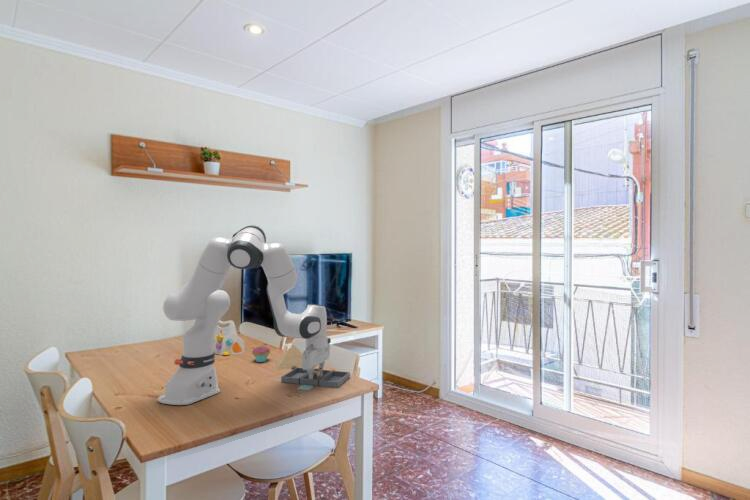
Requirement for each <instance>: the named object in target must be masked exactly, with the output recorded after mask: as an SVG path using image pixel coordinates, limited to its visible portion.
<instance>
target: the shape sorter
mask: <svg viewBox="0 0 750 500" xmlns="http://www.w3.org/2000/svg"><path fill="white" fill-rule="evenodd" d="M219 324H221V325H227V326H225V327H221V326H220V325H219ZM236 328H237V327H236V325H235V322H234V320H231V319H230V320H226V321H222V320H221V319H220V320H219V322H218V324H217V326H216V329H215V333H214V353H215V355H219V356H220V355H221V356H233V355H241V354H244V353H245V352H246V346H245V342H244V340H243V339H242V338H240V336H239V335H238V333H237V329H236Z"/></svg>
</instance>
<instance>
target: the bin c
mask: <svg viewBox="0 0 750 500" xmlns="http://www.w3.org/2000/svg"><path fill="white" fill-rule="evenodd" d="M350 378H351V372H350V371H341V370H331V372H330V373H329V374H327V375H326V376H325V377H323V378H322V379H321V380H319V386H318V387H322V388H334V389H338V388H339V387H341V386H342V385H343V384H344V383H346V382H347V381H348V380H349V379H350Z"/></svg>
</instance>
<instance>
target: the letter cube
mask: <svg viewBox="0 0 750 500" xmlns="http://www.w3.org/2000/svg"><path fill="white" fill-rule="evenodd" d="M323 370H324V368H323V369H318V368H316V367H315V368H313V374H314V378H313V380H318V379H319V378H321V377H322V376H323Z"/></svg>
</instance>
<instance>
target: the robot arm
mask: <svg viewBox="0 0 750 500" xmlns="http://www.w3.org/2000/svg"><path fill="white" fill-rule="evenodd" d="M266 240H267V237H266V234H265V232H264V230H263V228H261V227H260V226H257V225H254V224H253V225H247V226H245V227H243V228H241V229H240V230H237V232H235V233H233V234H232V236H231V238H227V237H223V236H216V237H213V238H212V239H210V240H209V241H208V243H207V244H206V246H205V247H204V249H203V251H202V253H201V255H200V258H199V259H198V263H197V266H196V267H195V269H194V272H193V274H192V276H191V277H190V279H189V280H187V282H186V283H185V284H184V285H183V286H182V287H180V288H179V289H178V290H177V291H175V292H173V293H171V294H169V295H168V296H166V298H165V300H164V302H163V307H162V309H163V313H164V315H165V317H166V318H167V319H168V320H170V321H178V322H185V321H186V322H187V321H193V320H195V321H194V323H193V325H192V326H191V327H190V328H189V329H188V330H186V331H185V332H184V334H183V337H182V355H181V358H180V359H179V358H176V359H174V362H173V363H174V365H176V366H177V365H178V366H179V367H178V368H177V370H175V372H174V373H173V374H172V376H171V377H170V378H169V379H168V381H166V383H165V388H164V394H162V395H160V396H159V397H157V402H158V403H161V404H165V405H166V404H167V405H172V406H173V405H174V406H187V405H191V404H194V403H196V402H198V401H201V400H204V399H206V398H208V397H209V398H210V397H211V396H214V395H216V394H219V393H220V392H221V390H220V388H219V385H218V383H219V382H218V377H217V376H218V375H217V369H216V367H215V361H216V356H215V355H216V354H215V353H214V333H215V329H216V326H217V324H218V325H219V323H218V322H219V320H220V321H221V318H222V317H223V316H224V315H225V313H228V311H229V308H230V306H231V299H230V298H231V297H230V295H229V294H228V293H227V291H225V290H222V289H221V288H222V287H223V286H224V283H225V281H226V278H227V276H228V274H229V271H230V269H231V266H232V267H233V268H235V269H237V270H248V269H249V270H250V269H257V268H259V267H262V269H263V272H264V274H265V277H266V280H267V285H266V294H267V299H268V303H269V307H270V310H271V314H272V319H273V328H274V331H275V333H276V335H277V336H278V337H282V338H295V339H301V340H305V350H304V351H302V353H303V357H302V369H303V370H307V372H308V375H309V379H313V378H314V374H313V369H314V368H316V367H318V368H317V369H323V370H324V367H325V363H326V361H327V360H329V358H330V353H331V352H330V351H331V345H330V344H331V340H332V338H331V337H328V335H327V325H328V320H327V319H328V316H327V308H326V307H325V306H324V305H323V304H316V303H315V304H314V303H308V304H307V306H306V308H305V310H304V311H303V312H301V313H293V312H291V311H289V310H288V308H287V306H286V302H285V298H284V295H285V294H287V293H289V291H291V290H292V289H294V287H295V286H296V284H298V283H297V282H298V280H299V279H298V272H297V270H296V267H295V265H294V262H293V259H292V258H291V256H290V254H289V252H288V249H287V248H286V247H285V246H284V244H283V243H280V242H270V243H267V241H266Z"/></svg>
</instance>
